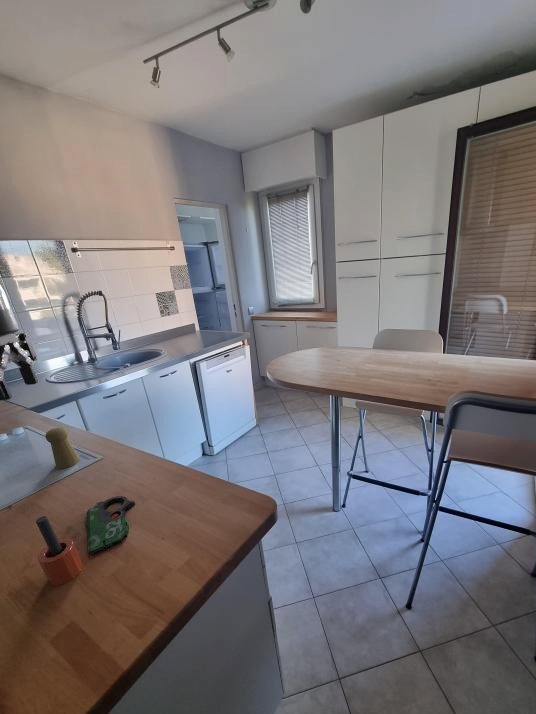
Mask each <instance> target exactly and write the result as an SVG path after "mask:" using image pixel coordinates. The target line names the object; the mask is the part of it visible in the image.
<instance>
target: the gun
mask: <svg viewBox="0 0 536 714" xmlns="http://www.w3.org/2000/svg"><path fill="white" fill-rule="evenodd" d="M118 503H119V504H121V505H120V506H119V507H118V508H116V509H115V510H112V511H107V508H109V507H110V506H111V505H114V504H118ZM135 505H136V501H135V500H129V499H128V497H126V496H123V495H117V496H112V497H110V498H107V499H105V500H102V501H98V502H95V505H93V506H92V507H90V508H89V509H88V510H87V511H86V519H85V528H86V529H87V552H88V555H90V556H95V555H96V553H98V552H100V551H103V552H106V551H105V548H106V550H108V547H110V546H111V547H112V548H113V547H115V544H116V543H119V545H121V544H122V543H123V539H124V538H128V534H129V533H130V531H129V530H130V526H129V522H128V521H127V515H126V512H128V511H130V510H131V509H132V508H133V507H134V506H135Z"/></svg>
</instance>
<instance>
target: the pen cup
mask: <svg viewBox="0 0 536 714" xmlns="http://www.w3.org/2000/svg"><path fill="white" fill-rule="evenodd" d="M58 541H59V543H60V545H61V547H62V549H63V552H62V553H60V554H59V555H57V556H55V557H53V556H52V554H51V552H50V550H49V548H48V546H47V545H46V546H44V548H41V550H40V552H39V553H38V555H37V562H38V564H39V566H40V567H41V569H42V571H43V573H44V575H45V577H46V579H47V580H48V583H49V584H51V585H52V586H60V585H63V584H67V583H69V582H70V581H72V580H73V579H75V578H76V577H77V576H78V575H79V574H80V573H81V571H82V569H83V560H82V559H81V556H80V554H79V551H78V550H77V548H76V546H75V543H74V541H73V539H71V538H67V537H66V538H61V539H60V538H59V539H58Z"/></svg>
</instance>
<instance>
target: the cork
mask: <svg viewBox="0 0 536 714" xmlns="http://www.w3.org/2000/svg"><path fill="white" fill-rule="evenodd" d="M68 437H69V431H68V430H67V429H66V428H65V427H62V426H59V427H58V426H57V427H55V428H51V429H49V430H48V431H47V432H46V433H45V439H46V441H47V442H48V443H49V444H50V448H51V452H52V456H53V459H54V464H55V467H56V469H60V470H63V469H67V468H66V467H68V468H70V467H69V466H71V467H73V466H75V465H76V464H78V463H79V462H80V461H81V458H80V456H79V455H78V452H77V451H76V450H75V448H74V446H73V444H72V443H71V441H70V439H69V438H68ZM79 460H80V461H79ZM78 461H79V462H78ZM77 462H78V463H77ZM75 463H76V464H75ZM74 464H75V465H74ZM72 465H73V466H72ZM62 468H63V469H62Z"/></svg>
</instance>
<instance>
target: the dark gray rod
mask: <svg viewBox="0 0 536 714" xmlns="http://www.w3.org/2000/svg"><path fill="white" fill-rule="evenodd" d="M35 524H36V525H37V527H38V529H39V531H40V534H41V535H42V537H43V540H44V542H45V544H46V546H48V548H49V550H50V552H51V554H52V556H53V557H55V556H57V555H59V554H60V553H62V552H63V549H62V547H61V545H60V543H59V541H58V540H59V539H58V537H57V534H56V532H55V530H54V528H53V526H52V524H51V522H50V520H49V518H48V516H47V515H42V516H40V517H38V518H37V519H36V520H35Z"/></svg>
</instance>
